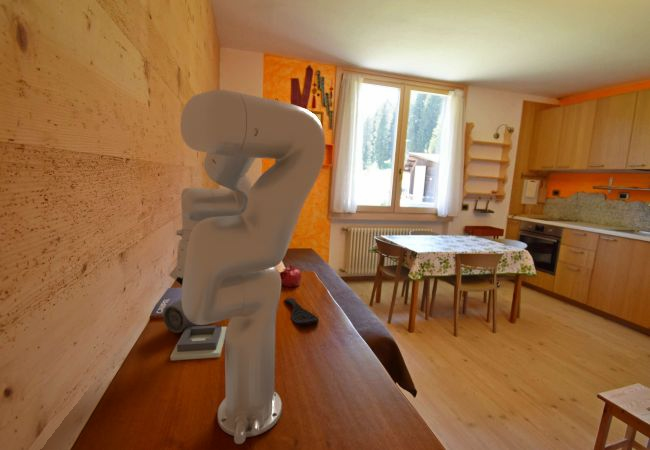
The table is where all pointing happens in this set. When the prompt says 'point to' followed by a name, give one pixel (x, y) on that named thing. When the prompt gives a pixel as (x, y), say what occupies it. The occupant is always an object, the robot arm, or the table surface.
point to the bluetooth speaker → (176, 318)
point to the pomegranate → (290, 277)
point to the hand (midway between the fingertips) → (199, 298)
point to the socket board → (200, 342)
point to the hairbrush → (301, 314)
